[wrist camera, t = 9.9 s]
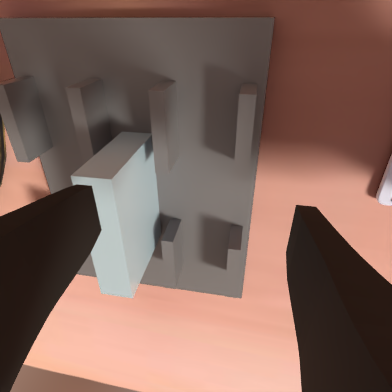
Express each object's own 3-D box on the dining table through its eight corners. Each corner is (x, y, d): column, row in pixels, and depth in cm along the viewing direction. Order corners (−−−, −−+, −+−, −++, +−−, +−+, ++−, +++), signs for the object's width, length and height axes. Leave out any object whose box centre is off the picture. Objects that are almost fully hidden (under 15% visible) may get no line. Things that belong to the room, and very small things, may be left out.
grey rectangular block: (152, 133, 18) (111, 179, 13) (161, 234, 22) (132, 298, 17) (122, 131, 18) (70, 175, 13) (136, 231, 23) (101, 293, 18)
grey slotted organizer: (273, 17, 15) (277, 18, 12) (242, 288, 25) (239, 324, 22) (9, 17, 17) (-43, 18, 14) (81, 266, 28) (60, 296, 25)
